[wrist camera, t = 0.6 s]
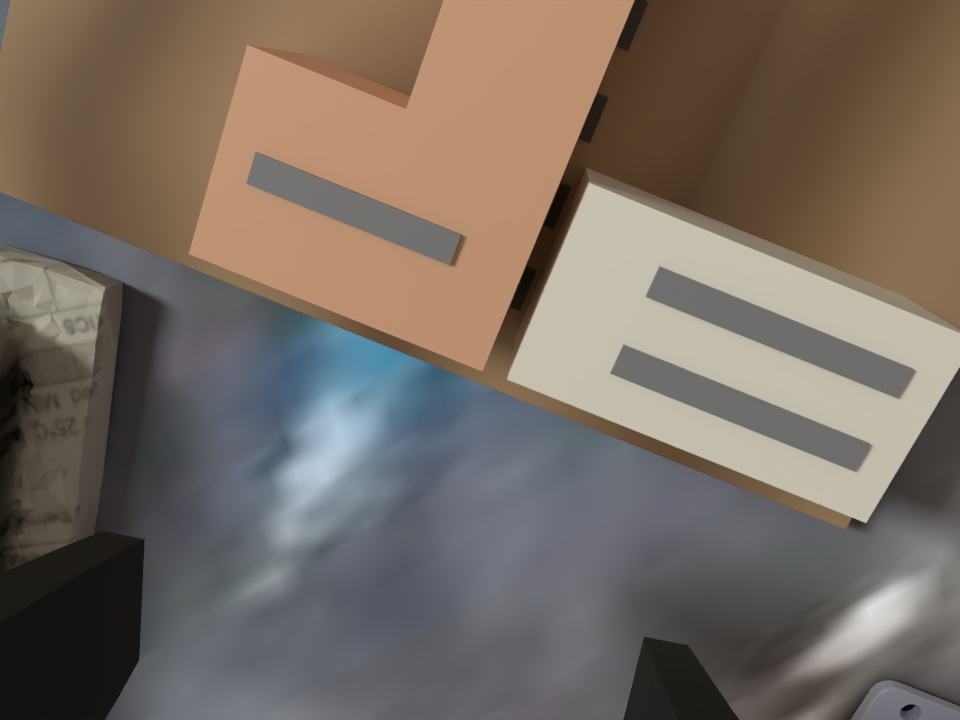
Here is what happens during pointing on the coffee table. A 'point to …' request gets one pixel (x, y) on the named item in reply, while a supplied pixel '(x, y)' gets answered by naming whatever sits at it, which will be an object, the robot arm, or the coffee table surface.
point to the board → (600, 147)
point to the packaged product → (53, 400)
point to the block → (409, 170)
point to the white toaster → (732, 347)
